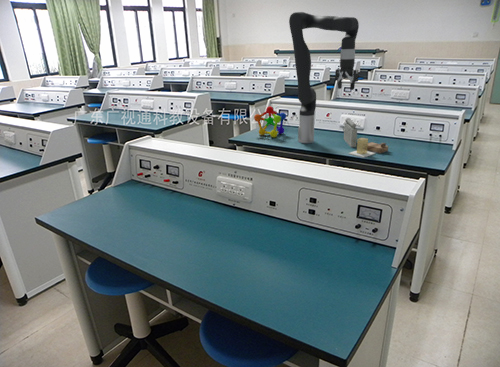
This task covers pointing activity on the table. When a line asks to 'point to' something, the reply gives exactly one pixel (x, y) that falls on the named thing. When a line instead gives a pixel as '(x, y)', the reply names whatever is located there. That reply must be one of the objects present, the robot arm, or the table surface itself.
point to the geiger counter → (350, 132)
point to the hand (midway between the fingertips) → (345, 89)
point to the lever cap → (362, 145)
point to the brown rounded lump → (377, 147)
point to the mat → (362, 154)
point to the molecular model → (271, 122)
